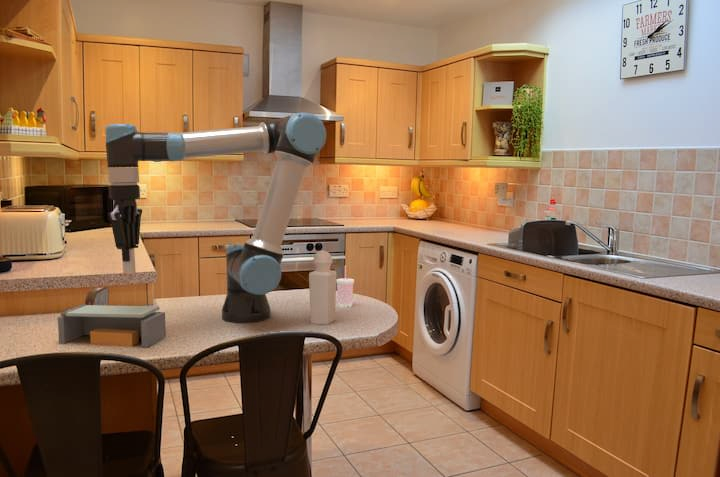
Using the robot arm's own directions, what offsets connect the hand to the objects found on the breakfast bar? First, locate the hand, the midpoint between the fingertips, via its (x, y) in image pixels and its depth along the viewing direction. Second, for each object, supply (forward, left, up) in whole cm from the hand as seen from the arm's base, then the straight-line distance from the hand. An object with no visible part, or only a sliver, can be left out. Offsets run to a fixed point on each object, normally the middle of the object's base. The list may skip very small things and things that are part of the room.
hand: (129, 272), depth 157 cm
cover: (+6, +1, -11) cm, 13 cm away
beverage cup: (-50, -50, -19) cm, 73 cm away
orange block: (+3, +3, -19) cm, 19 cm away
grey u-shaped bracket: (+5, 0, -19) cm, 19 cm away
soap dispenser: (-47, -28, -19) cm, 57 cm away
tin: (+26, -26, -19) cm, 41 cm away
